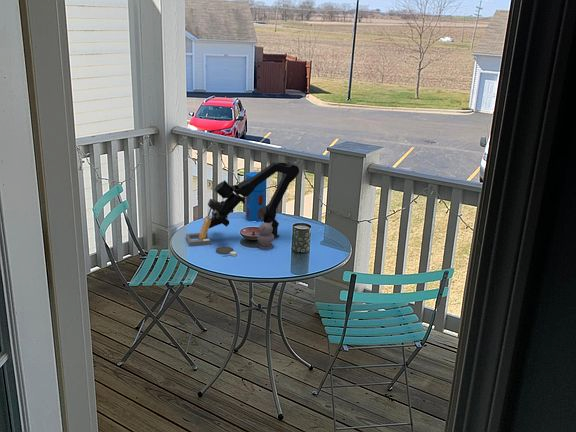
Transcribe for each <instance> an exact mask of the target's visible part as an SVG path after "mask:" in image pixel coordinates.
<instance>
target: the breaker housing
mask: <svg viewBox="0 0 576 432" xmlns="http://www.w3.org/2000/svg"><path fill="white" fill-rule="evenodd" d="M199 234H200V232H194V233H186V234H185V239H186V241H187V244H188V247H198V246H210V245H212V240H211V239H210V238H209V237H208V233H207V234H206V237H205V239H203V240H200V239H199ZM195 239H196V240H195Z"/></svg>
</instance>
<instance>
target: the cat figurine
mask: <svg viewBox="0 0 576 432" xmlns="http://www.w3.org/2000/svg"><path fill="white" fill-rule="evenodd" d="M272 231H273V227H272V222H271V223H264V222H263V223H261V224H260V225H259V227H258V232H259V234H257V236H256V238H257V242H258V248H259V249H261V250H271V249H272V248H273V241H274V240H275V238H274V235H273V234H272Z"/></svg>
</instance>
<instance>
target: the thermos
mask: <svg viewBox="0 0 576 432" xmlns="http://www.w3.org/2000/svg"><path fill="white" fill-rule="evenodd" d="M259 172H260V171H249V172H247V173H246V176H245V178H246V179H245V180H247V179H250V178H252V177H254V176H255V175H256V174H258V173H259ZM263 205H264V206H267V179H266V180H264V181H263V182H262V183H260V184H259V185H257V186H256V188H255V189H254V191H253V192H252V193H251V194H250V195H249V196H247V197H245V220H246V221H247V222H251V221H256V222H255V223H261V222H263V220H262V219H261V218H260V211H261V210H262V207H263ZM260 221H261V222H260Z"/></svg>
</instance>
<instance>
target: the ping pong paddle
mask: <svg viewBox="0 0 576 432" xmlns="http://www.w3.org/2000/svg"><path fill="white" fill-rule="evenodd" d="M215 253H216V254H217V255H218V254H219V255H222V256H226V257H232V258H235V257H237V256H238V252H236V251H234V248H233V247H231V246H226V245H225V246H219V247H217V248H216V249H215Z"/></svg>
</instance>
